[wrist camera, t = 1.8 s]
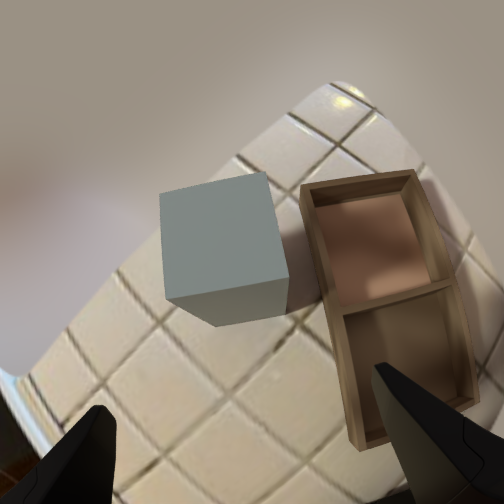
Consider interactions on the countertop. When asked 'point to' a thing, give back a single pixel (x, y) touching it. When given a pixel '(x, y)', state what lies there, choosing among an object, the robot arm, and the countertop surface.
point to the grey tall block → (224, 251)
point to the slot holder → (387, 293)
